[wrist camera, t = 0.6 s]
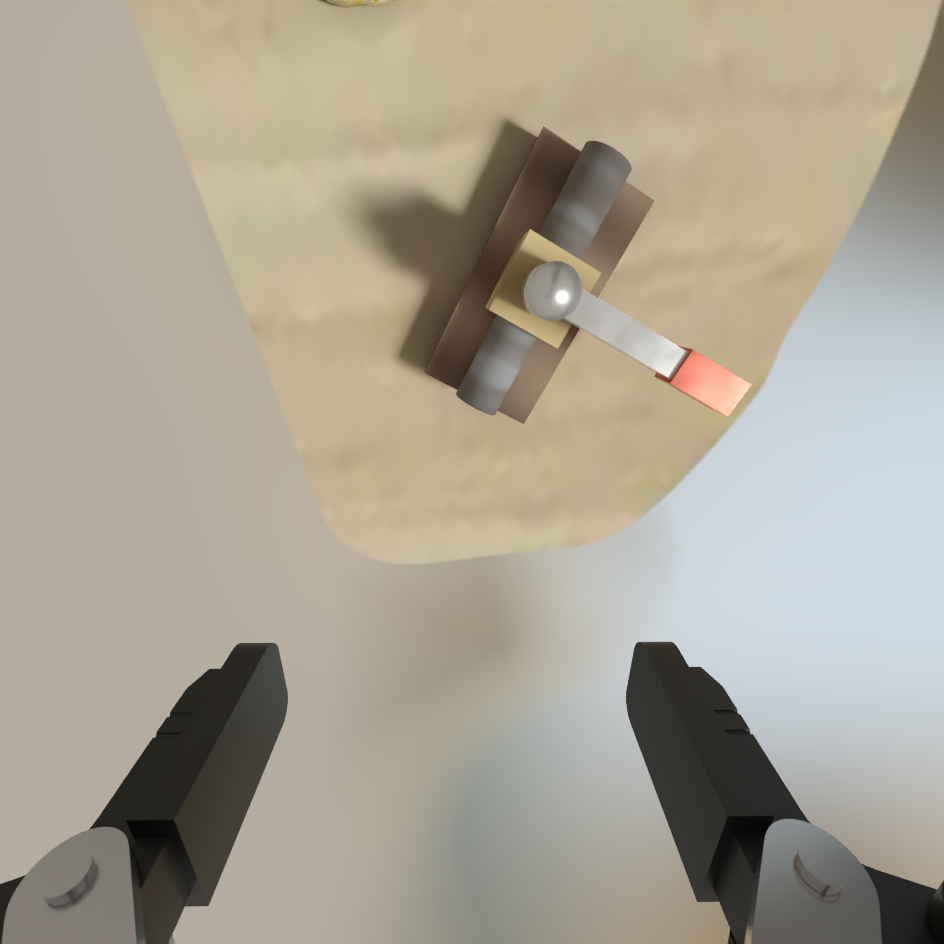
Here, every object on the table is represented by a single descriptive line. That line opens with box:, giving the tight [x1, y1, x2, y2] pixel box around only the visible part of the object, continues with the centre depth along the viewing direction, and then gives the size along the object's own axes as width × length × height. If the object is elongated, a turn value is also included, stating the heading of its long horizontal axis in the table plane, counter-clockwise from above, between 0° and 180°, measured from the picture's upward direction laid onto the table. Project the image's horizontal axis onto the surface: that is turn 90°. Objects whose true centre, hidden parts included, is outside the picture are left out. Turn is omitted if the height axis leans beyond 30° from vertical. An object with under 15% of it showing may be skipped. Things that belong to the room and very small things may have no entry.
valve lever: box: [521, 261, 751, 416], centre depth 25 cm, size 13×3×2 cm, turn 62°
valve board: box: [424, 126, 654, 424], centre depth 28 cm, size 16×8×7 cm, turn 152°
